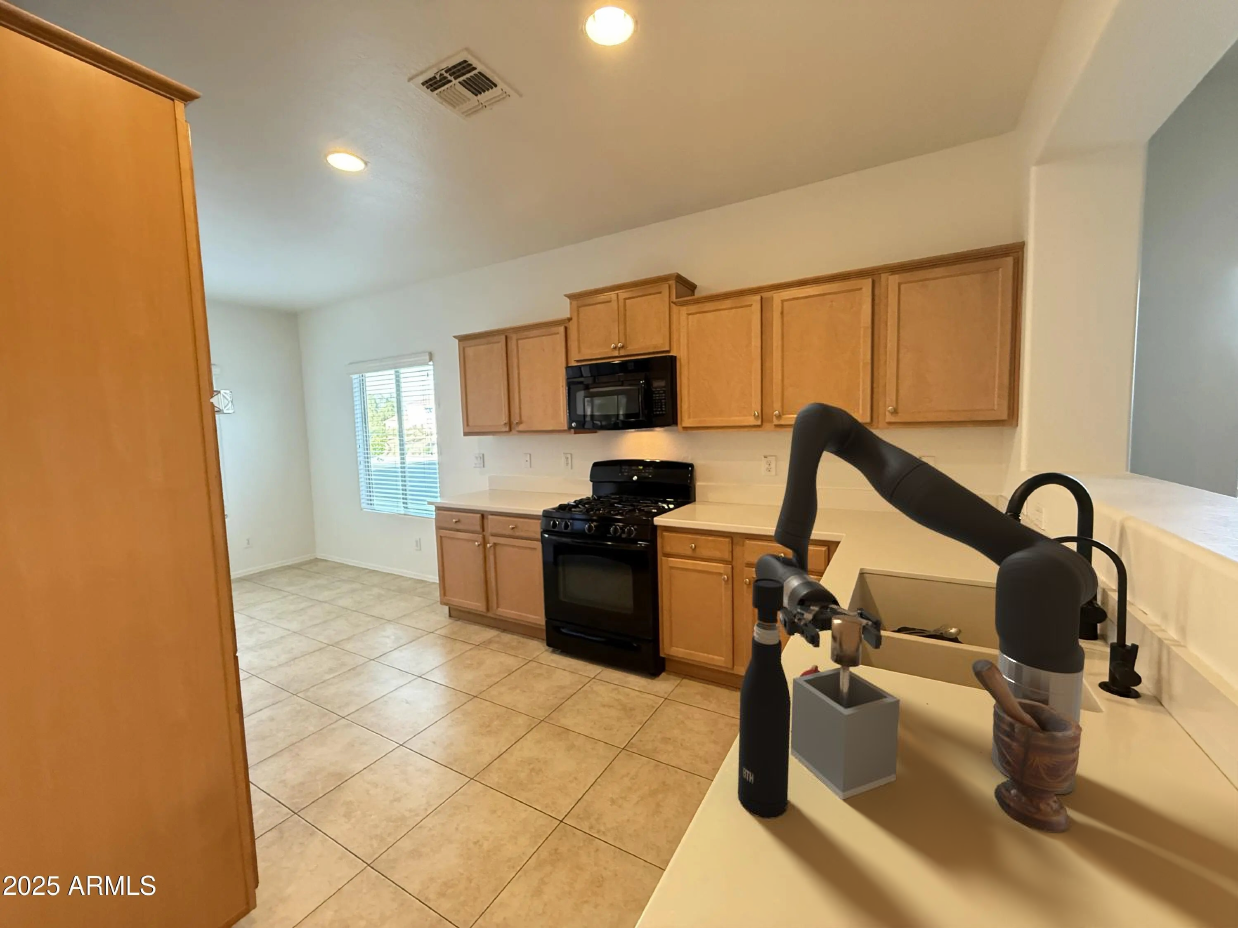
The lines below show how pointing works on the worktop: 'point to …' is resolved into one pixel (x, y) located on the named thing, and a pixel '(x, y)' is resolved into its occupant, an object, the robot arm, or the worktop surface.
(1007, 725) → the mortar and pestle
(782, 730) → the black water bottle
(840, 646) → the plunger
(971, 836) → the worktop surface
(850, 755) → the grey open box
